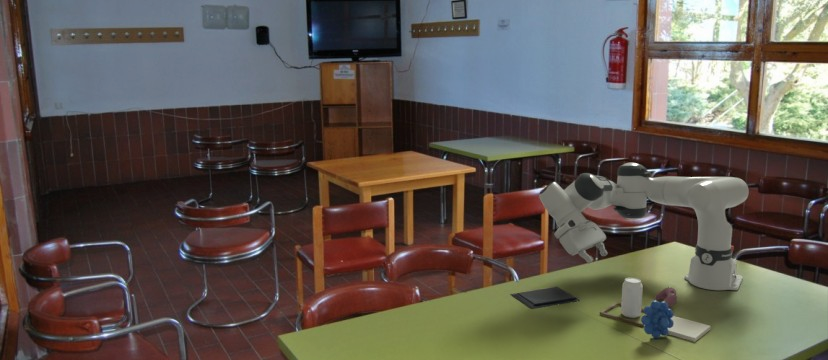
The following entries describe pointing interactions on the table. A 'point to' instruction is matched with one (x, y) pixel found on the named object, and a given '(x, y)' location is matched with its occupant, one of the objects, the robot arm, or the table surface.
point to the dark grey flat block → (544, 297)
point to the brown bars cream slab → (679, 329)
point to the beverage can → (631, 297)
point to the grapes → (657, 319)
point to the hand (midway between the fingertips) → (598, 258)
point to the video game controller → (667, 296)
